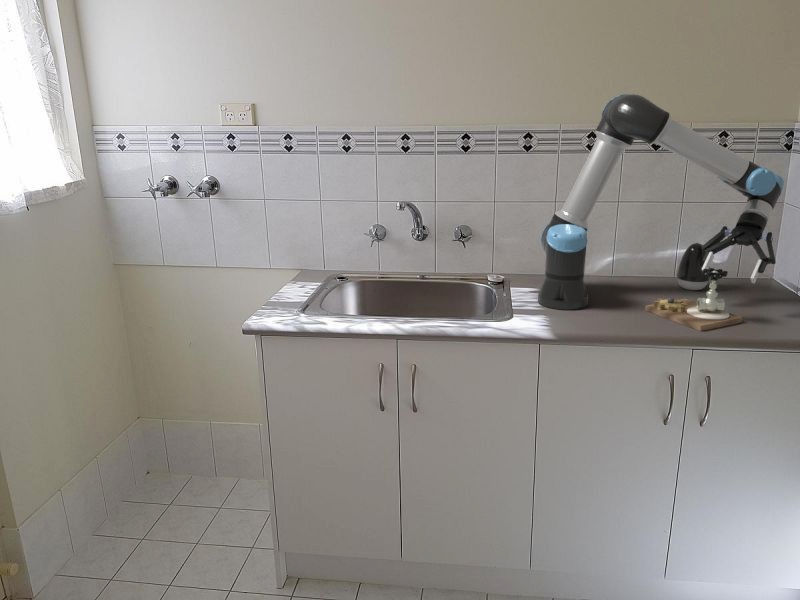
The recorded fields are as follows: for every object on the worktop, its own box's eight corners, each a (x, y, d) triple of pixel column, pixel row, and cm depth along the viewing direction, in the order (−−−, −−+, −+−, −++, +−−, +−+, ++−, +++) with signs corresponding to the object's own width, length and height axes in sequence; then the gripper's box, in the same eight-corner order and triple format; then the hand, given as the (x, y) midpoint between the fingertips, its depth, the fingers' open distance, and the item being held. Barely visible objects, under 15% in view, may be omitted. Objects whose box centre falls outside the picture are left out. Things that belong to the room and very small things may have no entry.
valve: (725, 315, 179) (731, 274, 175) (700, 314, 180) (705, 273, 176) (718, 308, 185) (724, 268, 181) (694, 307, 186) (699, 267, 182)
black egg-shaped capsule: (708, 285, 214) (714, 241, 209) (708, 294, 205) (714, 247, 200) (675, 282, 218) (681, 238, 214) (674, 290, 209) (679, 245, 205)
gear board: (645, 310, 190) (646, 296, 189) (684, 303, 196) (686, 290, 195) (700, 331, 172) (702, 316, 171) (741, 322, 179) (744, 308, 177)
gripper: (801, 232, 185) (775, 291, 180) (713, 221, 203) (687, 275, 197) (799, 216, 180) (773, 277, 175) (708, 206, 197) (682, 261, 192)
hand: (727, 276), depth 186 cm, fingers open, 13 cm apart
